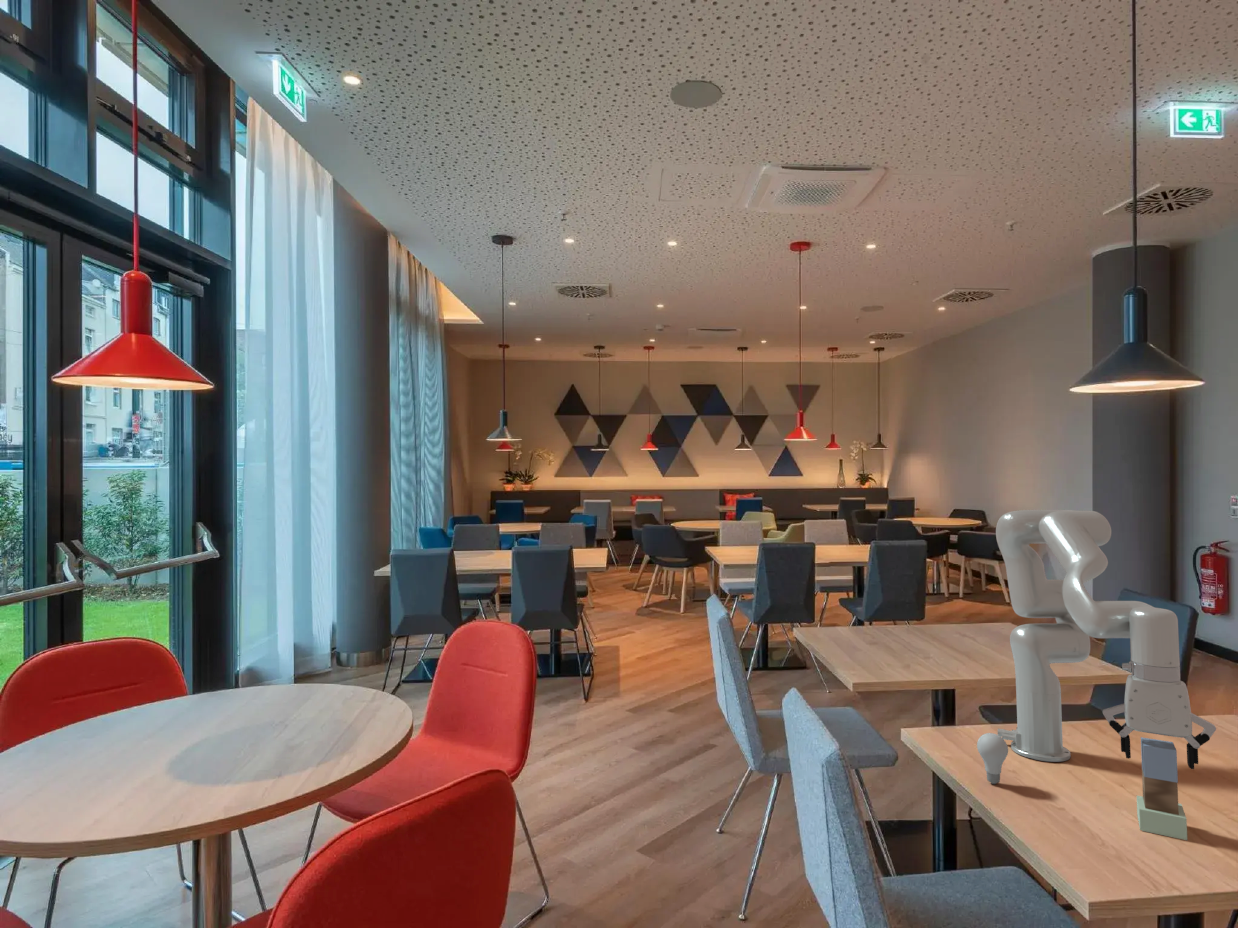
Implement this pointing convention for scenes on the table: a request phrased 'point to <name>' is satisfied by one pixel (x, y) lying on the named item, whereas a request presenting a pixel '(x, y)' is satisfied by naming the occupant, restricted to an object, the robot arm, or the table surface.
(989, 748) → the lightbulb
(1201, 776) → the table surface
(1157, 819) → the base brick
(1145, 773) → the slate block
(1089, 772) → the table surface
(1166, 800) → the walnut block
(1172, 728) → the robot arm
